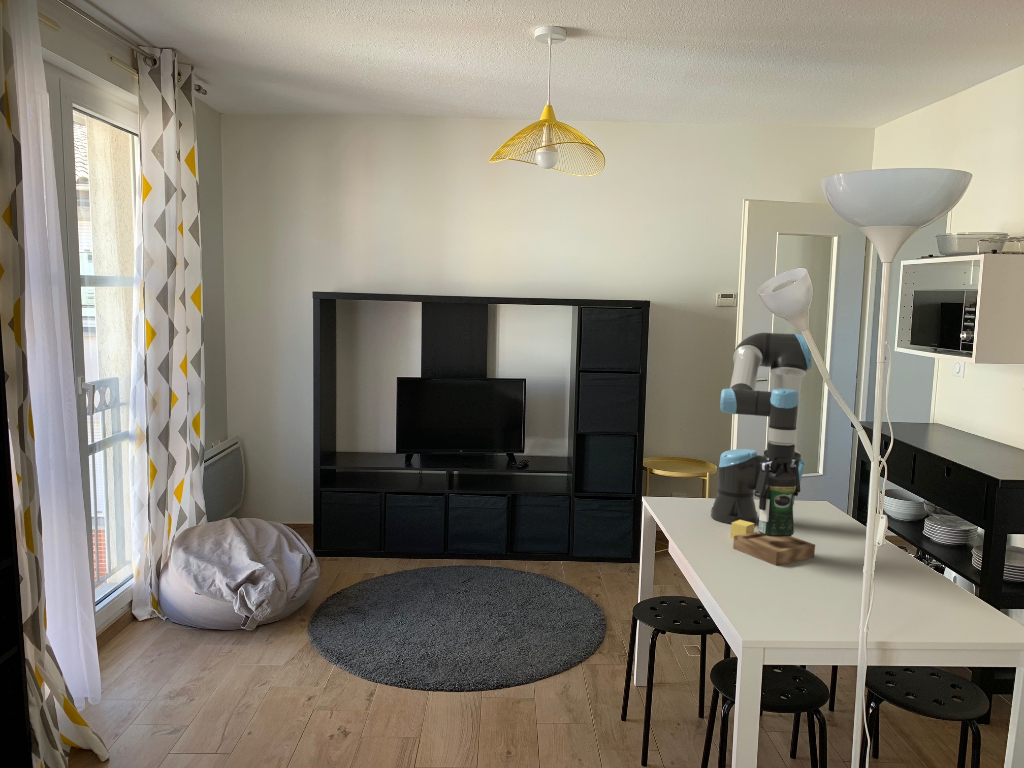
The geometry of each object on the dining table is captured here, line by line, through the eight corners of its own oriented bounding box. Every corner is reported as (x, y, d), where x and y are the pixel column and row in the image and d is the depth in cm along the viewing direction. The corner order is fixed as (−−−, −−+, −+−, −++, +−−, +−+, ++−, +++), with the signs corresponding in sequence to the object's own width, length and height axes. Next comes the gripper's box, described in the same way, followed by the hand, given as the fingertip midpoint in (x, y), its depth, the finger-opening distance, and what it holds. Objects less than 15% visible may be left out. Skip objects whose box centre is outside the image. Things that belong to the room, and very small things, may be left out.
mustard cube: (738, 535, 248) (739, 519, 247) (753, 539, 244) (754, 523, 244) (730, 538, 244) (731, 522, 244) (745, 542, 241) (746, 526, 240)
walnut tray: (770, 541, 242) (771, 529, 242) (814, 557, 228) (815, 544, 228) (733, 548, 234) (734, 535, 233) (775, 565, 220) (776, 552, 220)
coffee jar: (785, 530, 235) (790, 468, 232) (796, 538, 227) (801, 475, 225) (753, 529, 234) (758, 468, 232) (763, 537, 226) (768, 474, 224)
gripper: (796, 438, 236) (791, 511, 239) (744, 442, 225) (738, 519, 227) (817, 442, 230) (811, 517, 232) (764, 447, 218) (758, 526, 221)
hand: (775, 518), depth 230 cm, fingers closed on coffee jar, 9 cm apart
